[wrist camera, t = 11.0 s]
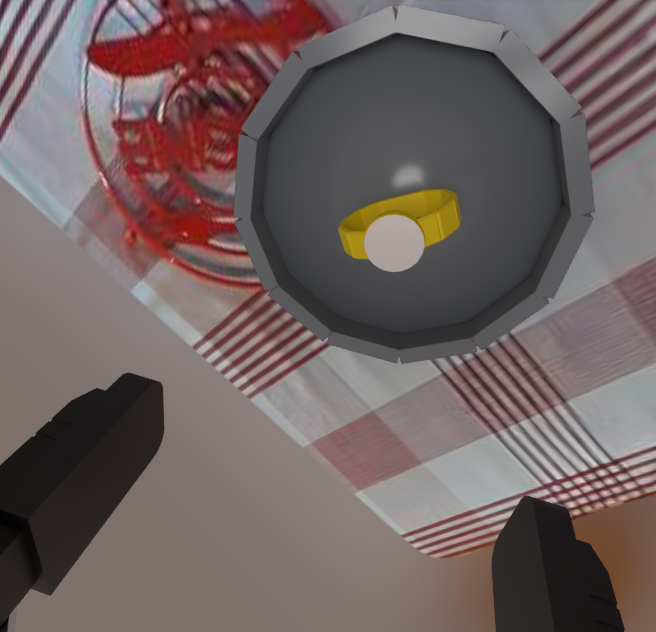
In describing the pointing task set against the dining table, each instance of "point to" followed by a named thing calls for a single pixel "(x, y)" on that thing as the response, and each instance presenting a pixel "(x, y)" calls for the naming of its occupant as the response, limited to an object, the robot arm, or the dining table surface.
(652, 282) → the dining table surface
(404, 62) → the round dish
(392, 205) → the watch
